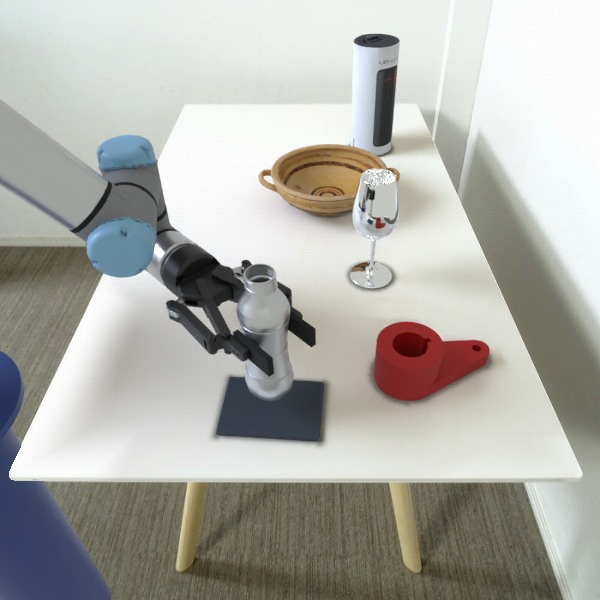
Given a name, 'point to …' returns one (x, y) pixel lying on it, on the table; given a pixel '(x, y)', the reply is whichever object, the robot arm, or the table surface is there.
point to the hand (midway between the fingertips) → (292, 352)
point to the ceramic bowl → (322, 177)
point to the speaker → (374, 91)
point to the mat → (272, 412)
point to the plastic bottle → (266, 331)
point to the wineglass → (374, 222)
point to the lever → (422, 360)
